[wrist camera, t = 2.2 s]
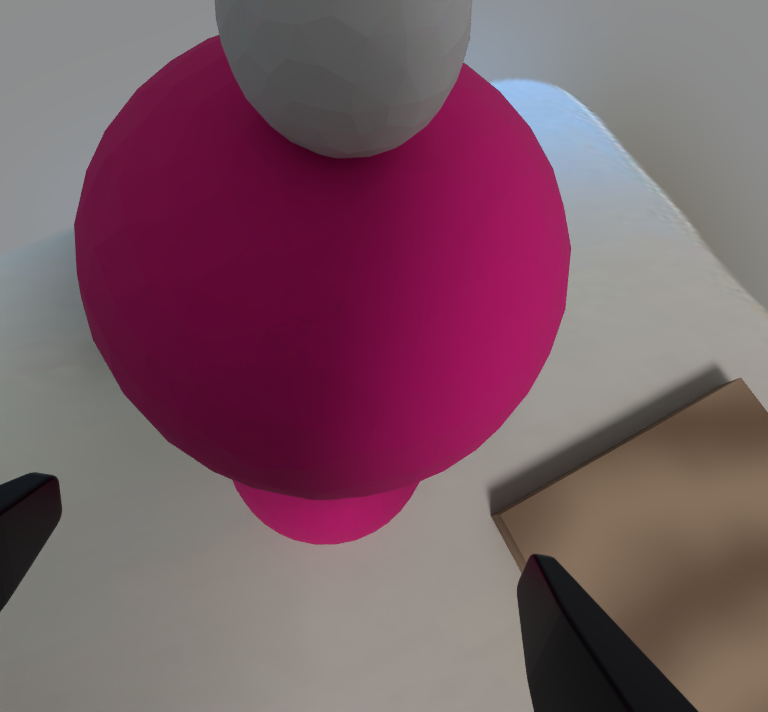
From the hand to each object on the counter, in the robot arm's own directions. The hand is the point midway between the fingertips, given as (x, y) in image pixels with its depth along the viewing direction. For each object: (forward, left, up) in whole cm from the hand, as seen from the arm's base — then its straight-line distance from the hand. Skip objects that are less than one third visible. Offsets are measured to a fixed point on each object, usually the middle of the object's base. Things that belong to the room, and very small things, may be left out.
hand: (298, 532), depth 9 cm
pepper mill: (+3, -2, -12) cm, 12 cm away
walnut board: (-10, -15, -12) cm, 22 cm away
